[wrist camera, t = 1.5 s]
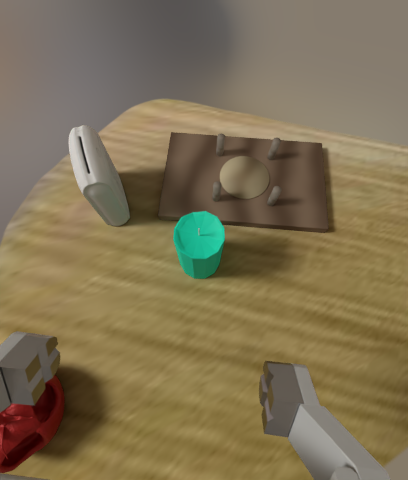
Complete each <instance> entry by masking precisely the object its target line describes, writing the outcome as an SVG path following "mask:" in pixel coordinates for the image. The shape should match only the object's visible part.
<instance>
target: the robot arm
mask: <svg viewBox="0 0 408 480" xmlns="http://www.w3.org/2000/svg"><path fill="white" fill-rule="evenodd" d="M57 344H58V342H57V338H56V337H54V336H47V335H40V334H33V333H25V332H14V333H12V334H11V335H10V336H9V337H8V338H7V339H6V340H5V341H4V342H3V343H2V344H1V345H0V413H1V412H2V411H3V410H5V409H6V408H7V407H9V406H10V405H11V403H12V404H23V405H35V404H36V402H37V401H38V399H39V398H40V396H41V395H42V393H43V392H44V390H45V382H47V381H49V380H50V379H52V378H53V376H54V375H55V373H56V372H57V369H58V366H59V364H60V352H59V351H58V350H57V349H56V348H55V347H56V346H57ZM263 372H264V374H263V375H262V376H261V378H260V382H259V398H260V403H261V405H262V406H263V411H262V422H263V429H264V434H270V435H276V436H283V437H288V440H289V441H290V443H291V444H292V446H293V447H294V449H295V450H296V452H297V454H298V455H299V457H300V458H301V460H302V461H303V463H304V464H305V466H306V467H307V469H308V471H309V472H310V474H311V475H312V477H313V478H314V480H390V477H389V475H388V473H387V471H386V470H385V469H384V468H383V467H382V466H381V465H380V464H379V463H378V462H377V461H376V460H375V459H374V458H373V457H372V456H371V455H370V454H369V452H368V451H367V450H366V449H365V448H364V447H363V446H362V445H361V444H360V443H359V442H358V441H357V440H356V439H355V438H354V437H353V436H352V435H351V434H350V433H349V432H348V431H347V430H346V429H345V427H344V426H343V425H342V424H341V423H340V422H339V421H338V420H337V419H336V418H335V417H334V416H333V415H332V414H331V413H330V412H329V411H328V410H327V409H326V408H325V407H324V406H320V404H319V401H318V398H317V395H316V392H315V389H314V386H313V383H312V380H311V378H310V375H309V372H308V369H307V367H306V366H305V365H300V364H291V363H282V362H272V361H265V362H264V366H263ZM0 480H48V479H40V478H32V477H25V476H17V475H9V474H1V473H0Z"/></svg>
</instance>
